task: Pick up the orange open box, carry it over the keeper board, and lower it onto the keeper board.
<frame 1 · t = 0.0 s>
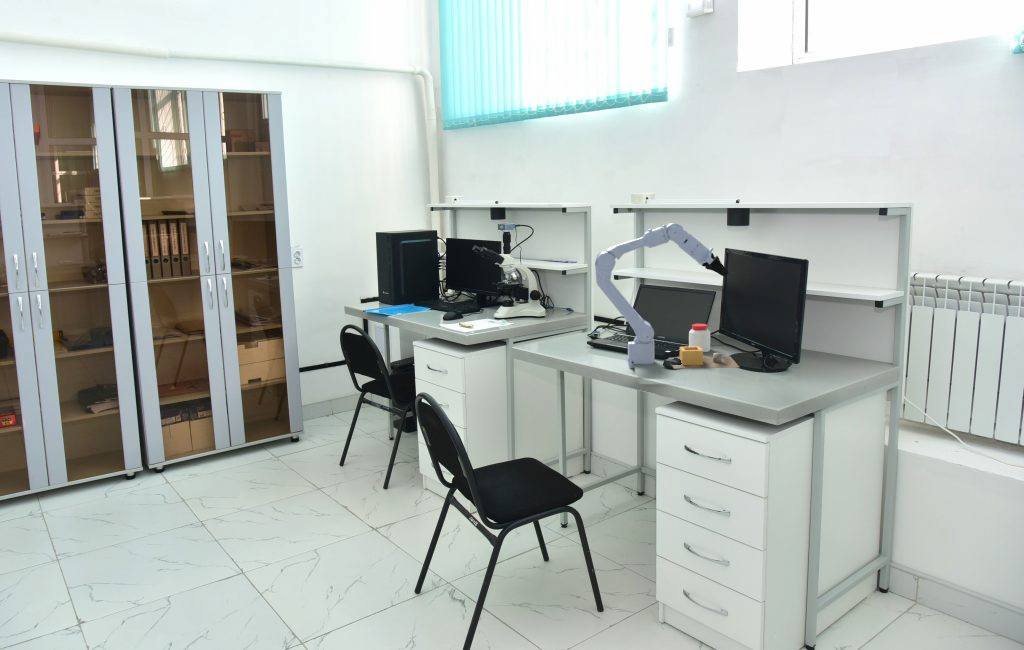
hand: (724, 273, 262), 32 cm above the table, tool tilted 50°, fingers open, 7 cm apart
keeper board: (702, 366, 266), on the table
pill bottle: (699, 354, 285), on the table
orange open box: (691, 362, 266), point 1 cm above the table, touching keeper board
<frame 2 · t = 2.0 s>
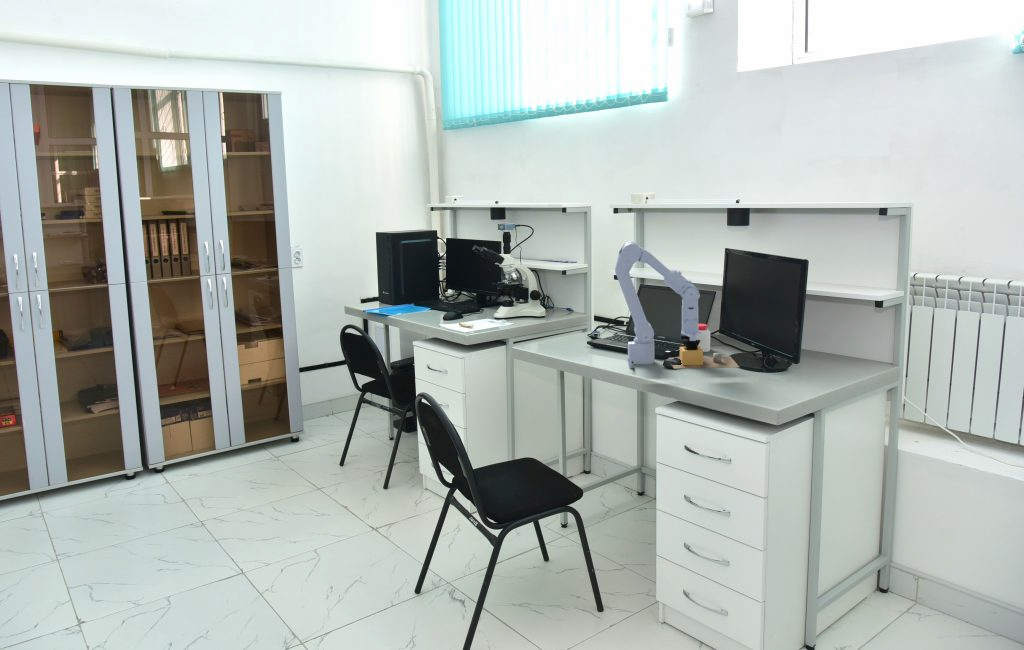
hand: (689, 356, 268), 3 cm above the table, tool pointing down, fingers open, 6 cm apart
nothing on the table moved.
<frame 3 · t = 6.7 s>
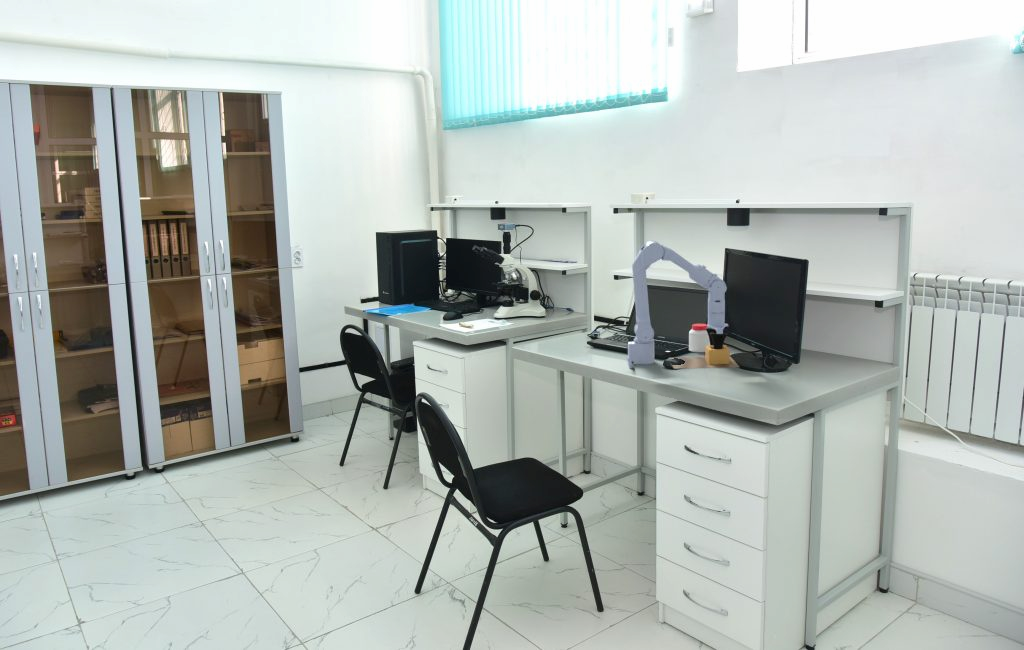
hand: (715, 350, 267), 5 cm above the table, tool pointing down, fingers open, 7 cm apart
orange open box: (717, 361, 266), point 2 cm above the table, touching gripper, keeper board
everything else where it was.
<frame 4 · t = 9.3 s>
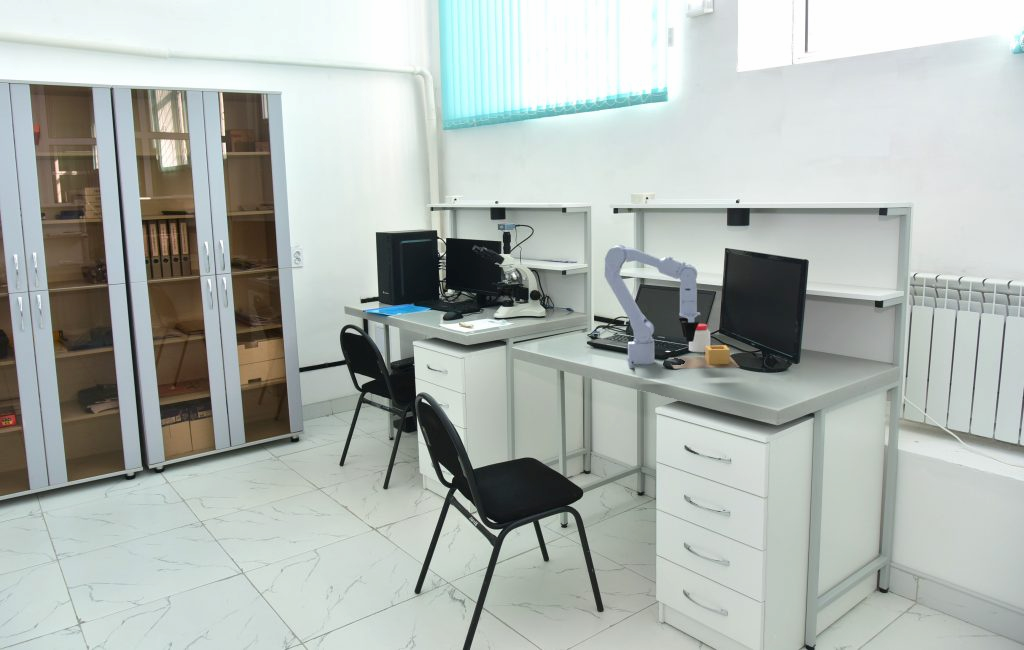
hand: (688, 339, 264), 10 cm above the table, tool pointing down, fingers open, 7 cm apart
orange open box: (717, 361, 266), point 1 cm above the table, touching keeper board
everything else where it was.
at the end: orange open box 0.7 cm from the target spot on the keeper board, point 1.5 cm above the keeper board's base; orange open box tilted 0°; the gripper is holding nothing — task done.
